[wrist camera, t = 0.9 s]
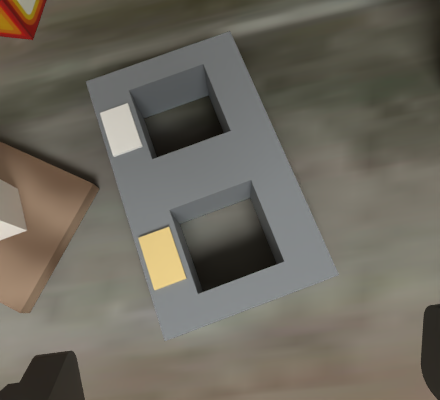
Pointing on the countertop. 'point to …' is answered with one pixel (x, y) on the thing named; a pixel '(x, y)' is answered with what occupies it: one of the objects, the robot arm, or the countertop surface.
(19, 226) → the plug
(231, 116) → the socket block
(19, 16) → the baking soda box
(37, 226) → the brown square board
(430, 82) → the countertop surface
